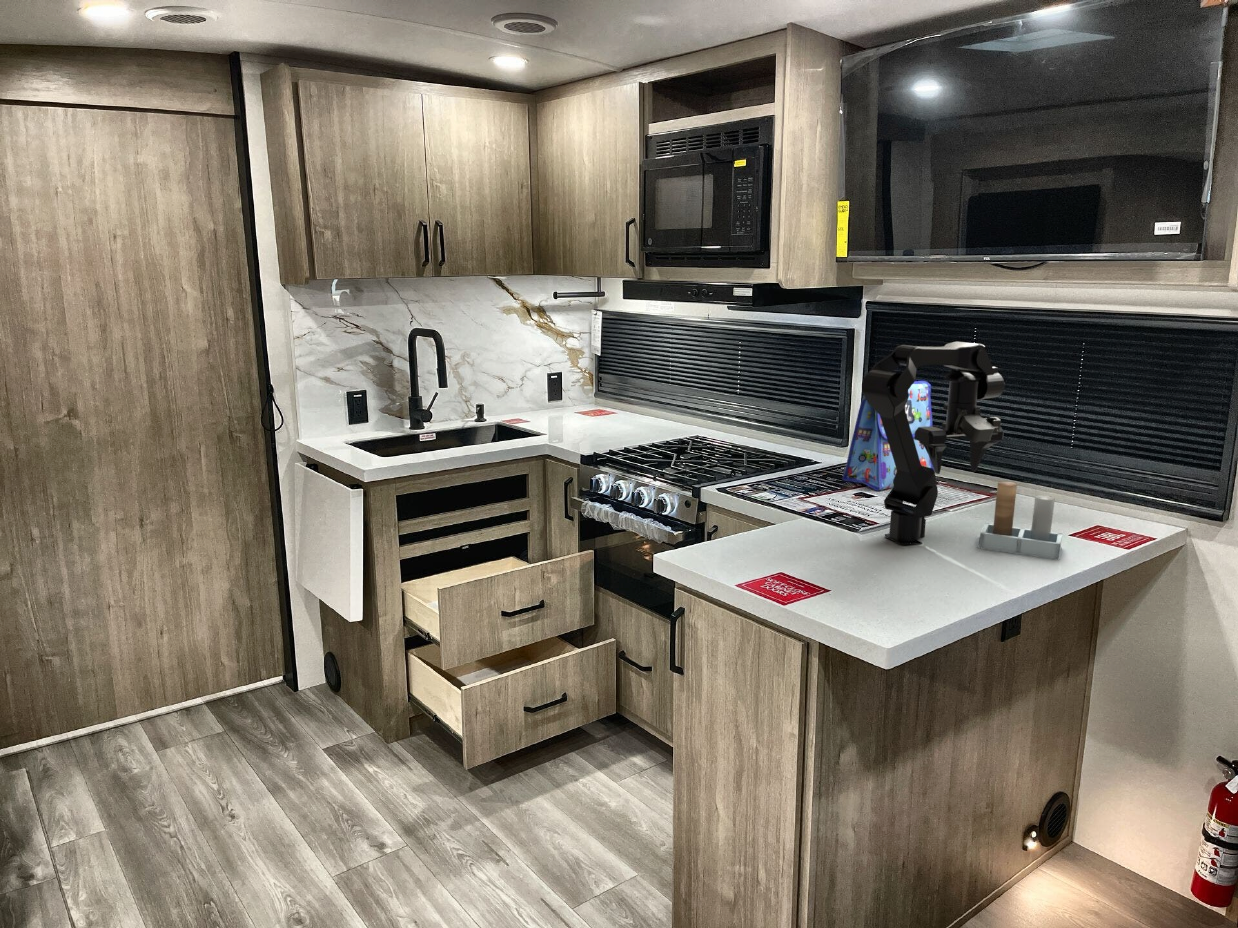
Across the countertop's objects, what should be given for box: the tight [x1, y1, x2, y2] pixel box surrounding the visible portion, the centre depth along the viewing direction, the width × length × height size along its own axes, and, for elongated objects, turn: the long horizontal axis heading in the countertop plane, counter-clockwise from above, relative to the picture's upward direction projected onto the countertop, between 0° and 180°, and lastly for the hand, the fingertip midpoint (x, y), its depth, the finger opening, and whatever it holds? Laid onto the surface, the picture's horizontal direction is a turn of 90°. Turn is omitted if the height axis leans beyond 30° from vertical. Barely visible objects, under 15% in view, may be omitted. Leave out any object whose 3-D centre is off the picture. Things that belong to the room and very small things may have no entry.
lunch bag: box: [842, 380, 935, 491], centre depth 236 cm, size 22×14×29 cm, turn 122°
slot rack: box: [977, 522, 1063, 561], centre depth 183 cm, size 15×9×4 cm, turn 62°
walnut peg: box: [993, 481, 1018, 536], centre depth 184 cm, size 4×4×13 cm
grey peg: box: [1030, 495, 1056, 542], centre depth 181 cm, size 4×4×11 cm
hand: (955, 472), depth 195 cm, fingers open, 9 cm apart
